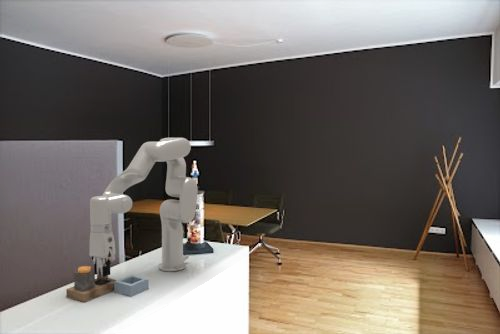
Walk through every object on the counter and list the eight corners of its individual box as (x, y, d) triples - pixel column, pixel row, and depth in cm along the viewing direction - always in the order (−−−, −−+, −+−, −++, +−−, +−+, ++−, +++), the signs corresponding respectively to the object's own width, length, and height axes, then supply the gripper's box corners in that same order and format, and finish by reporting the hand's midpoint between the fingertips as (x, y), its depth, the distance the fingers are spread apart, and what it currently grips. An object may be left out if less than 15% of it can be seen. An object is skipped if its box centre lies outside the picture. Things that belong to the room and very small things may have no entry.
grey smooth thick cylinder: (103, 283, 152) (102, 253, 151) (110, 285, 150) (109, 255, 149) (95, 286, 149) (94, 256, 148) (101, 288, 147) (101, 258, 146)
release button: (85, 284, 145) (85, 265, 145) (93, 286, 143) (93, 267, 143) (75, 288, 142) (75, 268, 141) (83, 290, 139) (83, 270, 139)
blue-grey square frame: (132, 284, 155) (132, 274, 155) (148, 288, 150) (148, 278, 150) (114, 291, 147) (114, 281, 147) (131, 296, 143) (130, 286, 142)
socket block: (102, 283, 156) (102, 261, 155) (119, 288, 151) (119, 265, 150) (66, 296, 142) (66, 273, 141) (84, 302, 137) (83, 277, 136)
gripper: (124, 228, 147) (125, 275, 148) (94, 224, 155) (96, 268, 157) (108, 232, 141) (109, 281, 142) (78, 227, 149) (80, 273, 150)
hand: (102, 274), depth 149 cm, fingers closed on grey smooth thick cylinder, 4 cm apart
